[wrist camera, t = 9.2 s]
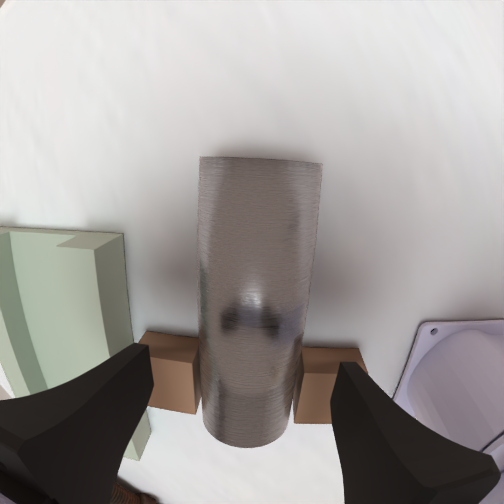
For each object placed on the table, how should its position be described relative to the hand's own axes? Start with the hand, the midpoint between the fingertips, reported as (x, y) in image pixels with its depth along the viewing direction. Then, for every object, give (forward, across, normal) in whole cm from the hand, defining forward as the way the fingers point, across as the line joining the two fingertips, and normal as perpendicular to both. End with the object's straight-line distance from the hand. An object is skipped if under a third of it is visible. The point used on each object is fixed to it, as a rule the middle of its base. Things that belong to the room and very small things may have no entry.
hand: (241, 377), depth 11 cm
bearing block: (+6, 0, +4) cm, 8 cm away
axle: (+4, 0, -1) cm, 4 cm away
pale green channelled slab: (+6, +13, +4) cm, 15 cm away
